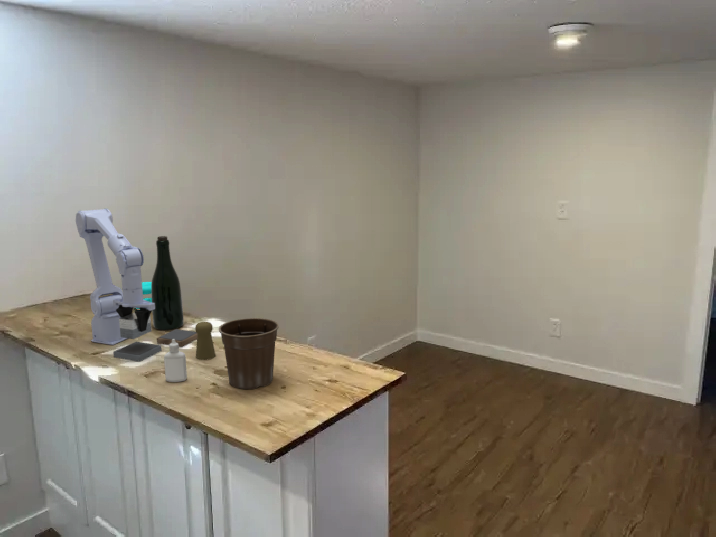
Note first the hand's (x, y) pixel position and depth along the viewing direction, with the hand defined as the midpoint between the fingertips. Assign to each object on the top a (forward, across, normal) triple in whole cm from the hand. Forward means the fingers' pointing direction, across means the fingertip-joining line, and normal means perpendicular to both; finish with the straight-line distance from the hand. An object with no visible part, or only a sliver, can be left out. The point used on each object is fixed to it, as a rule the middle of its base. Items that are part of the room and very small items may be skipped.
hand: (135, 329), depth 177 cm
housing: (+1, 0, 0) cm, 1 cm away
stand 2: (+8, +4, +15) cm, 17 cm away
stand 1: (+8, 0, 0) cm, 8 cm away
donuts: (+8, -32, +42) cm, 53 cm away
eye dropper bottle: (+8, +24, -12) cm, 28 cm away
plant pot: (+8, +44, -5) cm, 45 cm away
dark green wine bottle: (+8, -9, +26) cm, 29 cm away
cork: (+8, +21, +6) cm, 23 cm away
